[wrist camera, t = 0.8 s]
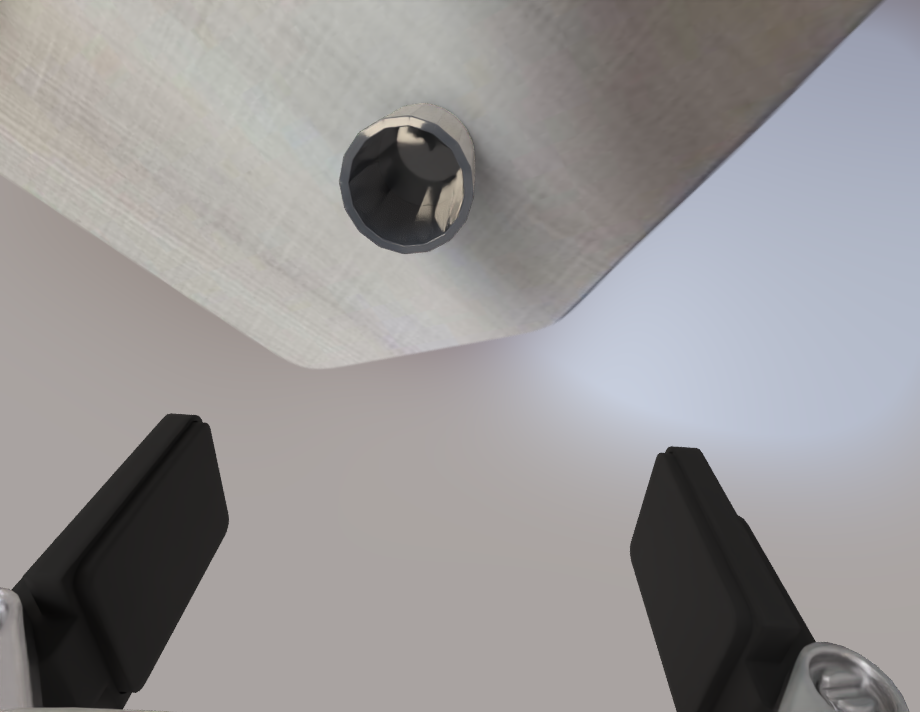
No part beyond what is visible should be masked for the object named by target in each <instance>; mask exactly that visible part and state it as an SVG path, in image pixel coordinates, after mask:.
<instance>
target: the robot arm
mask: <svg viewBox="0 0 920 712" xmlns="http://www.w3.org/2000/svg"><path fill="white" fill-rule="evenodd" d="M228 524H229V516H228V510H227V506H226V501H225V496H224V492H223V487H222V482H221V477H220V473H219V468H218V463H217V458H216V453H215V449H214V444H213V439H212V434H211V429H210V426H209V425H208V424H207V423H203V422H202V419H201V418H200V417H199V416H197V415H185V414H167V415H166V416H165V417H164V418H163V419H162V420H161V421H160V422H159V423H158V424H157V426H156V427H155V428H154V429H153V430H152V431H151V432H150V433H149V435H148V436H147V437H146V438H145V439H144V440H143V441H142V442H141V444H140V445H139V446H138V447H137V448H136V449H135V450H134V452H133V453H132V454H131V455H130V456H129V457H128V458H127V459H126V461H125V462H124V463H123V464H122V465H121V466H120V467H119V468H118V469H117V471H116V472H115V473H114V474H113V475H112V476H111V477H110V479H109V480H108V481H107V482H106V483H105V484H104V485H103V486H102V488H101V489H100V490H99V491H98V492H97V493H96V494H95V495H94V497H93V498H92V499H91V500H90V501H89V502H88V503H87V505H86V506H85V507H84V508H83V509H82V510H81V511H80V512H79V513H78V515H77V516H76V517H75V518H74V519H73V520H72V521H71V522H70V524H69V525H68V526H67V527H66V528H65V529H64V530H63V532H62V533H61V534H60V535H59V536H58V537H57V538H56V539H55V540H54V542H53V543H52V544H51V545H50V546H49V547H48V548H47V550H46V551H45V552H44V553H43V554H42V555H41V556H40V558H39V559H38V560H37V561H36V562H35V563H34V564H33V565H32V566H31V568H30V569H29V570H28V571H27V572H26V573H25V574H24V576H23V577H22V579H21V580H20V581H19V582H18V583H17V584H16V585H15V587H14V588H13V589H12V590H10V589H6V588H0V712H167V711H145V710H123V708H124V706H125V704H126V702H127V701H128V699H129V697H130V695H131V693H132V692H133V693H136V692H138V691H140V690H141V689H142V687H143V686H144V684H145V683H146V681H147V679H148V677H149V676H150V674H151V672H152V670H153V668H154V666H155V664H156V662H157V661H158V659H159V657H160V655H161V653H162V651H163V650H164V648H165V646H166V644H167V642H168V640H169V638H170V636H171V635H172V633H173V631H174V629H175V627H176V625H177V623H178V622H179V620H180V618H181V616H182V614H183V612H184V610H185V609H186V607H187V605H188V603H189V601H190V599H191V597H192V596H193V594H194V592H195V590H196V588H197V586H198V584H199V582H200V581H201V579H202V577H203V575H204V573H205V571H206V570H207V568H208V566H209V564H210V562H211V560H212V558H213V557H214V555H215V553H216V551H217V549H218V547H219V545H220V544H221V542H222V540H223V538H224V536H225V534H226V532H227V528H228ZM630 556H631V562H632V565H633V568H634V571H635V575H636V578H637V582H638V585H639V588H640V592H641V595H642V598H643V601H644V605H645V608H646V611H647V615H648V618H649V621H650V624H651V628H652V631H653V635H654V638H655V641H656V645H657V648H658V651H659V655H660V658H661V661H662V664H663V668H664V671H665V675H666V678H667V681H668V684H669V688H670V691H671V694H672V697H673V701H674V704H675V707H676V711H677V712H909V709H908V707H907V705H906V702H905V700H904V698H903V696H902V694H901V693H900V691H899V690H898V689H897V687H896V686H895V685H894V683H893V682H892V680H891V679H890V678H889V677H888V676H887V675H886V674H885V673H884V672H883V671H882V670H880V669H879V668H878V667H877V666H876V665H875V664H873V663H872V662H871V661H869V660H868V659H866V658H865V657H863V656H862V655H860V654H858V653H857V652H854V651H852V650H850V649H848V648H846V647H844V646H841V645H837V644H833V643H828V642H816V641H815V640H814V638H813V636H812V635H811V633H810V631H809V629H808V628H807V626H806V624H805V622H804V621H803V619H802V617H801V615H800V614H799V612H798V610H797V608H796V607H795V605H794V603H793V602H792V600H791V598H790V596H789V595H788V593H787V591H786V589H785V588H784V586H783V584H782V583H781V581H780V579H779V577H778V576H777V574H776V572H775V570H774V569H773V567H772V565H771V563H770V562H769V560H768V558H767V556H766V555H765V553H764V551H763V550H762V548H761V546H760V544H759V543H758V541H757V539H756V537H755V536H754V534H753V532H752V531H751V529H750V527H749V525H748V524H747V523H746V521H745V520H744V519H743V518H742V517H740V516H738V515H737V514H736V512H735V510H734V508H733V507H732V505H731V503H730V501H729V500H728V498H727V496H726V494H725V492H724V491H723V489H722V487H721V485H720V484H719V482H718V480H717V478H716V476H715V475H714V473H713V471H712V469H711V468H710V466H709V464H708V462H707V460H706V459H705V457H704V455H703V453H702V452H701V451H700V449H697V448H687V447H672V446H671V447H668V448H667V450H666V452H665V453H659V454H658V455H657V457H656V461H655V464H654V467H653V471H652V474H651V477H650V480H649V484H648V487H647V490H646V494H645V497H644V500H643V504H642V507H641V510H640V514H639V517H638V521H637V524H636V527H635V531H634V534H633V537H632V541H631V545H630Z"/></svg>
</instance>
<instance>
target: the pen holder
mask: <svg viewBox="0 0 920 712" xmlns="http://www.w3.org/2000/svg"><path fill="white" fill-rule="evenodd" d="M474 184H475V153H474V145H473V142H472V140H471V137H470V135H469V133H468V131H467V129H466V128H465V126H464V125H463V123H462V122H461V121H460V120H459V119H458V118H457V117H456V116H455V115H453V114H452V113H451V112H449V111H448V110H446V109H444V108H442V107H439V106H437V105H433V104H428V103H419V104H412V105H406V106H403V107H402V108H400V109H398V110H396V111H394V112H392V113H391V114H389V115H387V116H385V117H383V118H382V119H380V120H378V121H377V122H375V123H373V124H372V125H370V126H369V127H367V128H365V129H364V130H362V131H360V132H359V133H358V134H357V136H356V137H355V139H354V140H353V142H352V143H351V145H350V147H349V148H348V150H347V151H346V153H345V154H344V157H343V162H342V168H341V173H340V179H339V185H340V190H341V194H342V199H343V204H344V208H345V210H346V212H347V213H348V215H349V217H350V218H351V220H352V221H353V223H354V225H355V226H356V228H357V229H358V231H359V232H360V233H362V234H363V235H364V236H366V237H367V238H368V239H370V240H371V241H372V242H374V243H375V244H376V245H378V246H380V247H381V248H385V249H388V250H391V251H395V252H398V253H402V254H411V253H422V252H428V251H431V250H433V249H435V248H437V247H439V246H441V245H443V244H444V243H446V242H448V241H450V240H451V239H452V238H453V237H454V235H455V234H456V233H457V232H458V230H459V229H460V228H461V227H462V226H463V224H464V223H465V222H466V220H467V217H468V214H469V211H470V207H471V204H472V201H473V198H474Z"/></svg>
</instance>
